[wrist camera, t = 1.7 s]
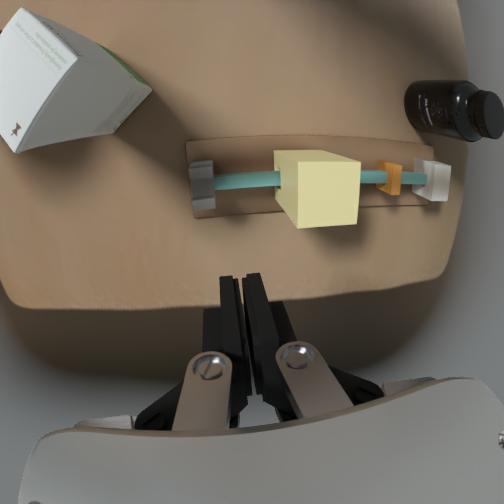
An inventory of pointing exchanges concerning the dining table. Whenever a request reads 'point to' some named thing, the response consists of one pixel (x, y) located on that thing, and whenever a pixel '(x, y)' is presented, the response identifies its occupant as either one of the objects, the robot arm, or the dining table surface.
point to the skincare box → (60, 84)
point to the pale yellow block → (317, 187)
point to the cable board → (262, 149)
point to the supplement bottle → (454, 109)
